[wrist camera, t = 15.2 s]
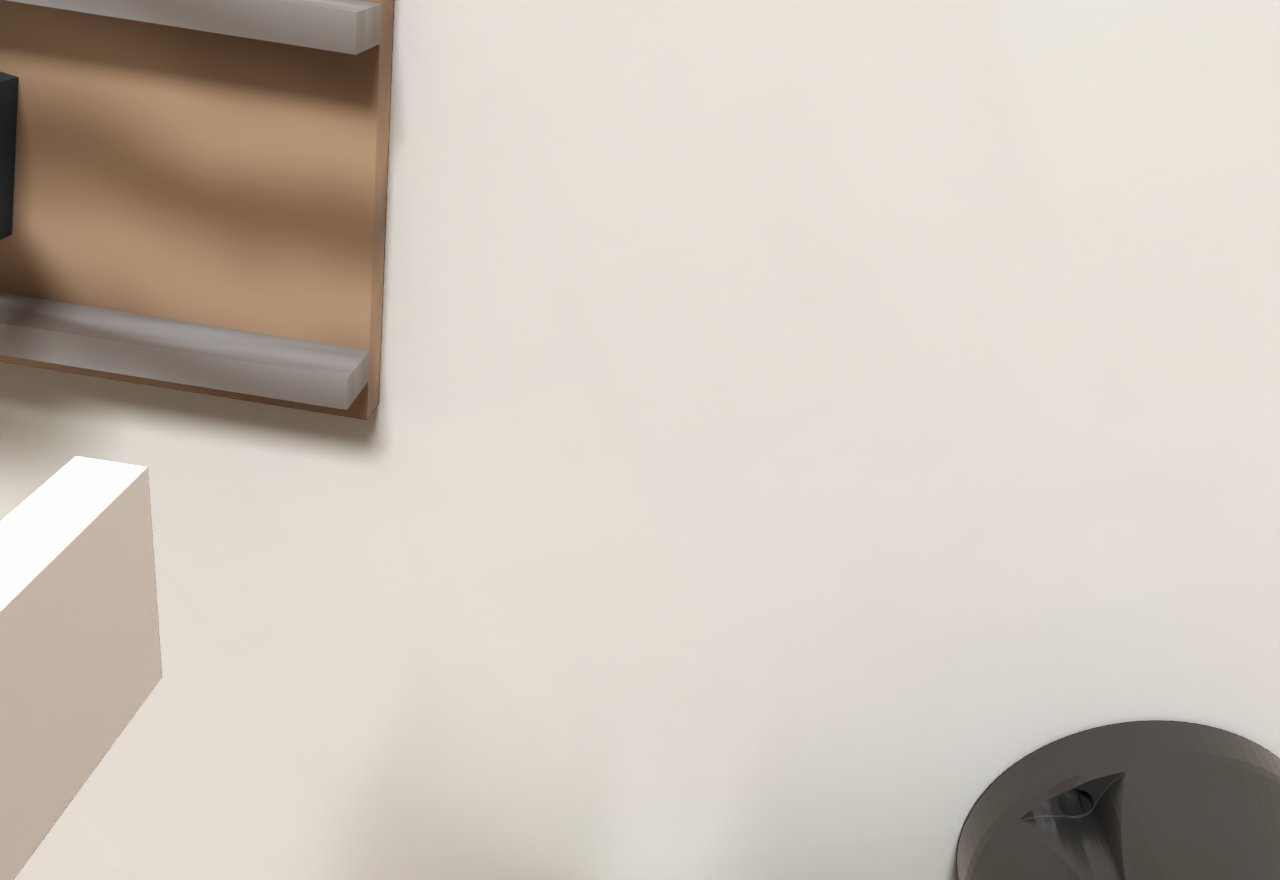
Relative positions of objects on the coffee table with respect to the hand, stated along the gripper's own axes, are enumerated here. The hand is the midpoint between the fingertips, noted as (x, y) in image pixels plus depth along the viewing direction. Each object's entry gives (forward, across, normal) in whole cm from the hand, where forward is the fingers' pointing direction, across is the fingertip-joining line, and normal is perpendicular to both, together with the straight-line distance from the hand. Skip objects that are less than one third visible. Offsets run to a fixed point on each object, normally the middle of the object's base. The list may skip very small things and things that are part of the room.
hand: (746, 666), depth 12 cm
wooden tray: (+29, +24, +4) cm, 37 cm away
